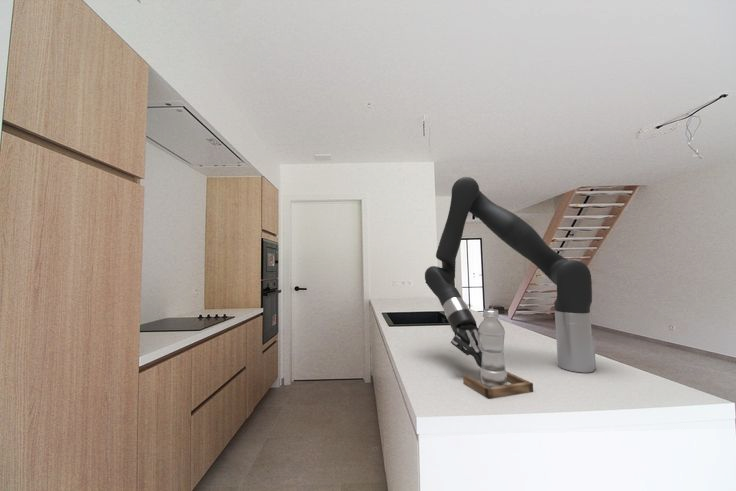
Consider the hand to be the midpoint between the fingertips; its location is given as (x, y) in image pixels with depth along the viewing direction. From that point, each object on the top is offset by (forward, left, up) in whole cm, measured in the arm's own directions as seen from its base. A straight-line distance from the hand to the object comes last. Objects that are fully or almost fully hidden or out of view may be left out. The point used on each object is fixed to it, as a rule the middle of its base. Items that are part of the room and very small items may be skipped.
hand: (485, 367), depth 82 cm
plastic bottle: (0, +3, -4) cm, 5 cm away
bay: (0, +3, -4) cm, 5 cm away
